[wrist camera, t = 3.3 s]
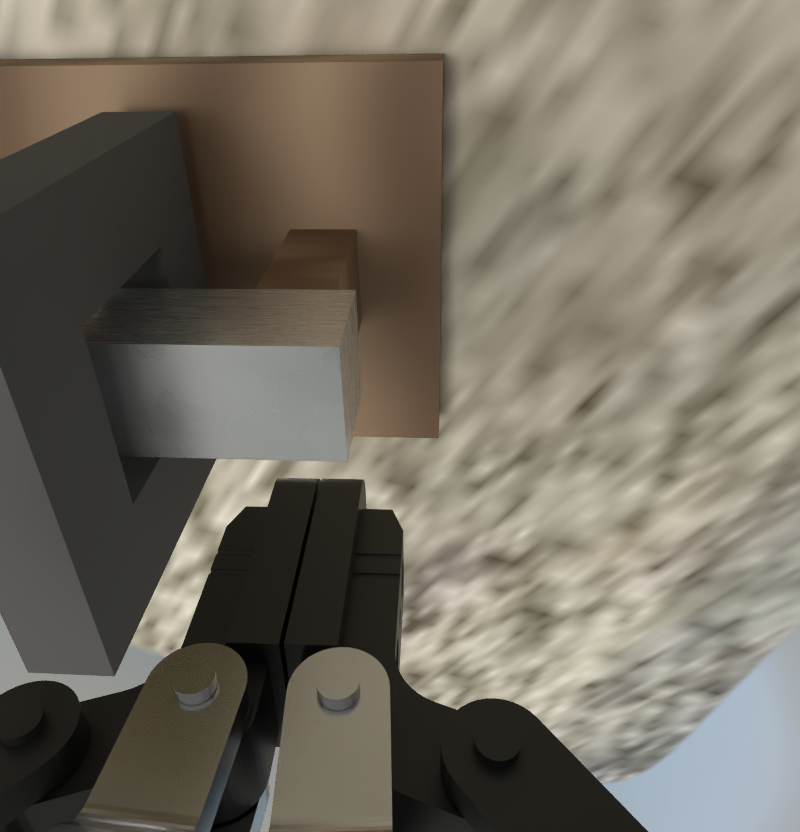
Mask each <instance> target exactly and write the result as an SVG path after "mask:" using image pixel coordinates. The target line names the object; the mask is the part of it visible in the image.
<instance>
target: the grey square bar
mask: <svg viewBox="0 0 800 832" xmlns="http://www.w3.org/2000/svg"><path fill="white" fill-rule="evenodd" d="M82 329H83V333H84V336H85V339H86V343H87V346H88V350H89V353H90V357H91V360H92V364H93V367H94V371H95V374H96V378H97V381H98V385H99V388H100V392H101V395H102V398H103V402H104V405H105V409H106V412H107V416H108V419H109V423H110V426H111V430H112V433H113V437H114V440H115V444H116V447H117V450H118V454H119V456H128V457H170V458H212V459H254V460H296V461H338V462H348V457H349V452H350V447H351V443H352V438H353V433H354V429H355V424H356V419H357V414H358V410H359V405H360V400H361V395H362V392H361V374H360V357H359V339H358V321H357V304H356V290H300V289H177V288H119V289H118V290H117V291H116V292H115V293H114V294H113V295H112V296H111V297H110V299H109V300H108V301H107V302H106V303H105V304H104V305H103V306H102V307H101V308H100V309H99V310H98V311H97V312H96V313H95V314H94V315H93V316H92V317H91V318H90V319H89V320H88V321H87V322H86V323H85V324H84V325H83V326H82Z"/></svg>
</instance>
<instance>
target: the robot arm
mask: <svg viewBox="0 0 800 832" xmlns="http://www.w3.org/2000/svg"><path fill="white" fill-rule="evenodd" d="M403 598H404V568H403V530H402V528H401V526H400V524H399V522H398V520H397V518H396V516H395V514H394V512H393V510H379V509H366V493H365V482H364V480H356V479H322V480H320V479H302V478H278V479H277V480H276V482H275V485H274V488H273V492H272V495H271V498H270V501H269V504H268V507H245V508H244V509H243V510H242V511H241V512H240V513H239V514H238V515H237V516H236V518H235V519H234V520H233V521H232V522H231V523H230V524H229V525H228V526H227V527H226V530H225V532H224V535H223V538H222V540H221V543H220V546H219V548H218V554H216V556H215V559H214V562H213V565H212V567H211V574H209V575H208V578H207V581H206V583H205V586H204V589H203V591H202V594H201V597H200V599H199V602H198V605H197V607H196V610H195V613H194V615H193V618H192V621H191V623H190V626H189V629H188V631H187V634H186V637H185V639H184V642H183V645H182V647H181V649H178V650H177V651H175V652H173V653H171V654H170V655H168V656H167V657H165V658H164V659H163V660H162V661H161V662H160V663H158V664H157V665H156V667H155V668H154V669H153V670H152V671H151V673H150V675H149V676H148V678H147V680H146V682H145V683H144V684H141V685H139V686H137V687H135V688H132V689H129V690H125V691H122V692H118V693H114V694H110V695H106V696H102V697H98V698H94V699H90V700H86V701H82V702H79V700H78V697H77V696H76V694H75V693H74V691H73V690H72V689H70V688H69V687H68V686H66V685H64V684H62V683H59V682H55V681H36V682H30V683H26V684H23V685H20V686H17V687H15V688H13V689H10V690H8V691H6V692H5V693H3V694H1V695H0V832H260V829H261V825H262V822H263V818H264V814H265V811H266V807H267V804H268V799H269V789H270V788H269V781H268V780H269V776H270V771H271V766H272V762H273V757H274V752H275V747H280V749H279V758H278V765H277V774H276V782H275V790H274V798H273V806H272V815H271V822H270V828H269V832H648V831H647V830H646V829H645V828H644V827H643V826H642V825H641V824H640V823H639V822H638V821H637V820H636V819H635V818H634V817H633V816H632V815H631V814H630V813H629V812H628V811H627V810H626V809H625V807H624V806H623V805H621V803H620V802H619V801H618V800H617V799H616V798H615V797H614V796H613V795H612V794H611V793H610V792H609V791H608V790H607V789H606V788H605V787H604V786H603V785H602V784H601V783H600V782H599V781H598V780H597V779H596V778H595V777H594V776H593V775H592V774H591V773H590V772H589V771H588V770H587V768H586V767H585V766H584V765H583V764H582V763H581V762H580V761H579V760H578V759H577V758H576V757H575V756H574V755H573V754H572V753H571V752H570V751H569V750H568V749H567V748H566V747H565V746H564V745H563V744H562V743H561V742H560V741H559V740H558V739H557V738H556V737H555V736H554V735H553V734H552V733H551V732H550V731H549V729H548V728H547V727H546V726H545V725H544V724H543V723H542V722H541V721H540V720H539V719H538V718H537V717H536V716H534V715H533V714H532V713H531V712H530V711H528V710H527V709H525V708H524V707H522V706H520V705H518V704H516V703H514V702H510V701H507V700H502V699H481V700H476V701H473V702H470V703H468V704H466V705H464V706H462V707H461V708H460V709H458V710H456V709H453V708H450V707H447V706H444V705H441V704H439V703H436V702H433V701H431V700H429V699H426V698H425V697H423V696H421V695H420V694H418V693H417V692H416V691H414V690H413V689H412V688H411V687H410V686H409V685H408V684H407V683H406V682H405V680H404V679H403V677H402V676H401V674H400V672H399V666H400V649H401V632H402V615H403Z"/></svg>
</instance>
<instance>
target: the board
mask: <svg viewBox="0 0 800 832" xmlns="http://www.w3.org/2000/svg"><path fill="white" fill-rule="evenodd" d="M443 66H444V54H386V55H311V56H237V57H162V58H88V59H13V60H0V159H2V158H5V157H7V156H9V155H11V154H13V153H15V152H17V151H20V150H22V149H24V148H26V147H28V146H30V145H32V144H35V143H37V142H39V141H41V140H43V139H45V138H47V137H50V136H52V135H54V134H56V133H58V132H60V131H62V130H65V129H67V128H69V127H71V126H73V125H75V124H77V123H79V122H82V121H84V120H86V119H88V118H90V117H92V116H94V115H97V114H99V113H101V112H161V111H176V116H177V122H178V128H179V133H180V139H181V144H182V150H183V156H184V161H185V167H186V173H187V178H188V184H189V190H190V195H191V201H192V206H193V212H194V218H195V223H196V229H197V235H198V240H199V246H200V251H201V257H202V263H203V268H204V274H205V280H206V285H207V289H300V290H356V304H357V321H358V339H359V357H360V374H361V392H362V395H361V400H360V405H359V410H358V414H357V419H356V424H355V429H354V433H353V436H364V437H411V438H438V433H439V389H440V308H441V227H442V147H443Z"/></svg>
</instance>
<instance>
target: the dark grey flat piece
mask: <svg viewBox="0 0 800 832" xmlns="http://www.w3.org/2000/svg"><path fill="white" fill-rule="evenodd" d="M119 288H177V289H207V285H206V280H205V274H204V268H203V263H202V257H201V251H200V246H199V240H198V235H197V229H196V223H195V218H194V212H193V206H192V201H191V195H190V190H189V184H188V178H187V173H186V167H185V161H184V156H183V150H182V144H181V139H180V133H179V128H178V122H177V116H176V111H161V112H101V113H99V114H97V115H94V116H92V117H90V118H88V119H86V120H84V121H82V122H79V123H77V124H75V125H73V126H71V127H69V128H67V129H65V130H62V131H60V132H58V133H56V134H54V135H52V136H50V137H47V138H45V139H43V140H41V141H39V142H37V143H35V144H32V145H30V146H28V147H26V148H24V149H22V150H20V151H17V152H15V153H13V154H11V155H9V156H7V157H5V158H2V159H0V613H1V616H2V618H3V620H4V622H5V624H6V626H7V628H8V630H9V633H10V635H11V637H12V639H13V641H14V643H15V645H16V648H17V650H18V652H19V654H20V656H21V658H22V660H23V662H24V664H25V667H26V669H27V671H28V672H31V673H53V674H75V675H97V676H115V674H116V672H117V670H118V668H119V665H120V664H121V661H122V659H123V657H124V655H125V653H126V651H127V649H128V646H129V644H130V642H131V640H132V638H133V636H134V634H135V632H136V629H137V627H138V625H139V623H140V621H141V619H142V617H143V614H144V612H145V610H146V608H147V606H148V604H149V602H150V599H151V597H152V595H153V593H154V591H155V589H156V587H157V585H158V582H159V580H160V578H161V576H162V574H163V572H164V570H165V567H166V565H167V563H168V561H169V559H170V557H171V555H172V552H173V550H174V548H175V546H176V544H177V542H178V540H179V538H180V535H181V533H182V531H183V529H184V527H185V525H186V523H187V520H188V518H189V516H190V514H191V512H192V510H193V508H194V505H195V503H196V501H197V499H198V497H199V495H200V493H201V490H202V488H203V486H204V484H205V482H206V480H207V478H208V476H209V473H210V471H211V469H212V467H213V465H214V463H215V461H216V459H212V458H170V457H128V456H119V454H118V450H117V447H116V444H115V440H114V437H113V433H112V430H111V426H110V423H109V419H108V416H107V412H106V409H105V405H104V402H103V398H102V395H101V392H100V388H99V385H98V381H97V378H96V374H95V371H94V367H93V364H92V360H91V357H90V353H89V350H88V346H87V343H86V339H85V336H84V333H83V329H82V326H83V325H84V324H85V323H86V322H87V321H88V320H89V319H90V318H91V317H92V316H93V315H94V314H95V313H96V312H97V311H98V310H99V309H100V308H101V307H102V306H103V305H104V304H105V303H106V302H107V301H108V300H109V299H110V297H111V296H112V295H113V294H114V293H115V292H116V291H117V290H118V289H119Z"/></svg>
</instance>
